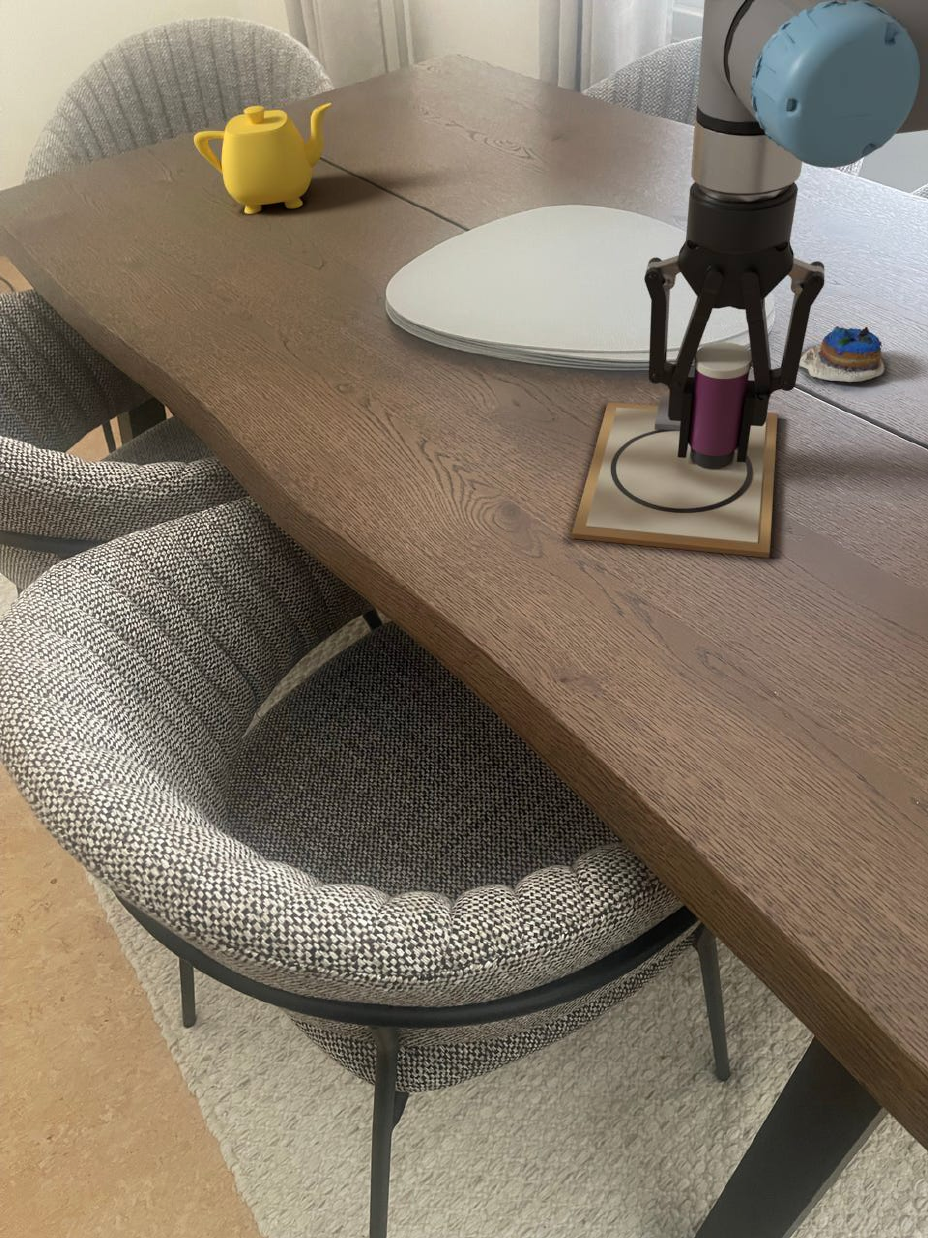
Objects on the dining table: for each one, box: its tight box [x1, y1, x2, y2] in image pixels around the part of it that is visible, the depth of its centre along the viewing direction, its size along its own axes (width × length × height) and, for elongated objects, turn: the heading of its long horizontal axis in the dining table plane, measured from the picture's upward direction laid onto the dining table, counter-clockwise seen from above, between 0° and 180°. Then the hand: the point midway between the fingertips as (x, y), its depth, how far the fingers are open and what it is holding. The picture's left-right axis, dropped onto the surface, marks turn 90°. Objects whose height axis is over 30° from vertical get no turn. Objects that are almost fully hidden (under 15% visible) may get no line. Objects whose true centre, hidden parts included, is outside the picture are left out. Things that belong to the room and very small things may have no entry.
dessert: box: [799, 325, 885, 383], centre depth 93 cm, size 8×7×6 cm
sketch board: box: [571, 394, 779, 559], centre depth 83 cm, size 21×16×1 cm
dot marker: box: [688, 341, 753, 469], centre depth 80 cm, size 5×5×10 cm
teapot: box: [193, 102, 332, 215], centre depth 134 cm, size 13×20×12 cm
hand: (712, 450), depth 83 cm, fingers closed on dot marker, 4 cm apart
